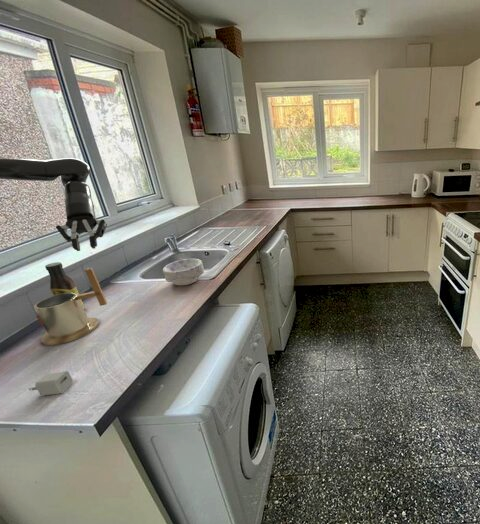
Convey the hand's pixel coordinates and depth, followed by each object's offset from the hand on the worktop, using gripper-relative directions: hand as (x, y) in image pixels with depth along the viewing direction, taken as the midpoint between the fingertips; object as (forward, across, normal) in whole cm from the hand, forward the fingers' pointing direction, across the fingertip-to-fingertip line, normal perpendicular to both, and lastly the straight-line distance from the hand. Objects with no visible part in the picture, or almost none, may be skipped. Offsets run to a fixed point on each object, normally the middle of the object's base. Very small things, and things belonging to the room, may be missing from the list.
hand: (85, 248), depth 98 cm
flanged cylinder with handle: (+24, -6, +9) cm, 26 cm away
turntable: (+25, -9, +9) cm, 28 cm away
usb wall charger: (+47, -6, -13) cm, 49 cm away
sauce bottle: (+15, -11, +19) cm, 27 cm away
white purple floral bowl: (+10, +26, +24) cm, 37 cm away
